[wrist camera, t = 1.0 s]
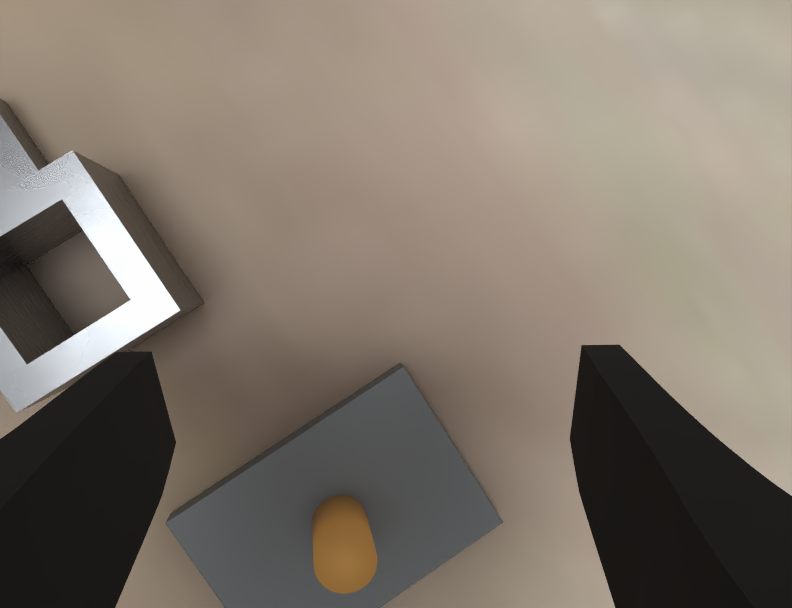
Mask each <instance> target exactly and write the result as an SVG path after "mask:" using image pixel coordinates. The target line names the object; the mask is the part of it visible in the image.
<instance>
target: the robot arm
mask: <svg viewBox="0 0 792 608" xmlns="http://www.w3.org/2000/svg"><path fill="white" fill-rule="evenodd" d="M570 442H571V448H572V454H573V460H574V466H575V471H576V477H577V482H578V487H579V493H580V496H581V499H582V503H583V506H584V509H585V512H586V516H587V519H588V522H589V525H590V529H591V532H592V535H593V538H594V541H595V545H596V548H597V551H598V554H599V557H600V560H601V563H602V567H603V570H604V573H605V576H606V579H607V582H608V586H609V589H610V592H611V595H612V598H613V601H614V605H615V608H792V496H791V495H789V494H788V493H786V492H785V491H784V490H782V489H781V488H779V487H778V486H777V485H775V484H774V483H772V482H771V481H770V480H768V479H767V478H766V477H764V476H763V475H762V474H760V473H759V472H758V471H757V470H755V469H754V468H753V467H751V466H750V465H749V464H748V463H747V462H745V461H744V460H743V459H742V458H740V457H739V456H738V455H737V454H736V453H734V452H733V451H732V450H731V449H729V448H728V447H727V446H726V445H725V444H723V443H722V442H721V441H720V440H719V439H717V438H716V437H715V436H714V435H713V434H712V433H711V432H709V431H708V430H707V429H706V428H705V427H704V426H703V425H702V424H700V423H699V422H698V421H697V420H696V419H695V418H694V417H693V416H692V415H691V414H689V413H688V412H687V411H686V410H685V409H684V408H683V407H682V406H681V405H680V404H679V403H678V402H677V401H676V400H675V399H674V398H672V397H671V396H670V395H669V394H668V393H667V392H666V391H665V390H664V389H663V388H662V387H661V386H660V385H659V384H658V383H657V382H656V381H655V380H654V379H653V378H652V377H651V376H650V375H649V374H648V373H647V372H646V371H645V370H644V369H643V368H642V367H641V366H640V365H639V364H638V363H637V362H636V361H635V360H634V359H633V358H632V357H631V356H630V355H629V354H628V353H627V352H626V351H625V350H624V349H623V348H622V347H621V346H620V345H582V347H581V355H580V363H579V371H578V379H577V387H576V395H575V402H574V410H573V418H572V426H571V434H570ZM175 444H176V441H175V437H174V433H173V430H172V426H171V422H170V419H169V415H168V411H167V407H166V404H165V400H164V396H163V393H162V389H161V385H160V382H159V378H158V374H157V370H156V367H155V363H154V359H153V356H152V352H116V353H114V354H113V355H111V356H110V357H108V358H107V359H105V360H104V361H103V362H101V363H100V364H99V365H97V366H96V367H95V368H93V369H92V370H91V371H89V372H88V373H87V374H85V375H84V376H83V377H82V378H80V379H79V380H78V381H76V382H75V383H74V384H73V385H71V386H70V387H69V388H67V389H66V390H65V391H64V392H62V393H61V394H60V395H59V396H57V397H56V398H55V399H53V400H52V401H51V402H49V403H48V404H47V405H45V406H44V407H43V408H42V409H40V410H39V411H38V412H36V413H35V414H34V415H32V416H31V417H30V418H29V419H27V420H26V421H25V422H23V423H22V424H21V425H19V426H18V427H17V428H15V429H14V430H13V431H11V432H10V433H8V434H7V435H6V436H4V437H3V438H1V439H0V608H115V607H116V604H117V602H118V599H119V597H120V595H121V592H122V590H123V588H124V585H125V583H126V581H127V578H128V576H129V573H130V571H131V569H132V566H133V564H134V562H135V559H136V557H137V555H138V552H139V550H140V548H141V545H142V543H143V540H144V538H145V536H146V533H147V531H148V528H149V526H150V524H151V521H152V519H153V516H154V514H155V511H156V509H157V507H158V504H159V501H160V499H161V496H162V493H163V490H164V486H165V483H166V479H167V476H168V472H169V468H170V464H171V460H172V456H173V452H174V448H175Z"/></svg>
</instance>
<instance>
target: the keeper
mask: <svg viewBox="0 0 792 608" xmlns="http://www.w3.org/2000/svg"><path fill="white" fill-rule="evenodd" d="M501 523H503V521H502V519H501V518H500V516H499V515H498V513H497V511H496V510H495V508H494V507H493V505H492V504H491V502H490V500H489V499H488V497H487V496H486V494H485V493H484V491H483V489H482V488H481V486H480V485H479V483H478V482H477V480H476V479H475V477H474V475H473V474H472V472H471V471H470V469H469V468H468V466H467V464H466V463H465V461H464V460H463V458H462V457H461V455H460V454H459V452H458V450H457V449H456V447H455V446H454V444H453V443H452V441H451V439H450V438H449V436H448V435H447V433H446V432H445V430H444V428H443V427H442V425H441V424H440V422H439V421H438V419H437V418H436V416H435V414H434V413H433V411H432V410H431V408H430V407H429V405H428V403H427V402H426V400H425V399H424V397H423V396H422V394H421V393H420V391H419V389H418V388H417V386H416V385H415V383H414V382H413V380H412V378H411V377H410V375H409V374H408V372H407V371H406V369H405V368H404V366H403V365H402V364H401V363H399V364H398V365H396V366H395V367H393V368H392V369H390V370H389V371H387V372H386V373H384V374H383V375H381V376H380V377H378V378H377V379H375V380H374V381H372V382H370V383H369V384H367V385H366V386H364V387H363V388H361V389H360V390H358V391H357V392H355V393H354V394H352V395H351V396H349V397H348V398H346V399H345V400H343V401H342V402H340V403H338V404H337V405H335V406H334V407H332V408H331V409H329V410H328V411H326V412H325V413H323V414H322V415H320V416H319V417H317V418H316V419H314V420H313V421H311V422H310V423H308V424H306V425H305V426H303V427H302V428H300V429H299V430H297V431H296V432H294V433H293V434H291V435H290V436H288V437H287V438H285V439H284V440H282V441H281V442H279V443H278V444H276V445H274V446H273V447H271V448H270V449H268V450H267V451H265V452H264V453H262V454H261V455H259V456H258V457H256V458H255V459H253V460H252V461H250V462H249V463H247V464H246V465H244V466H242V467H241V468H239V469H238V470H236V471H235V472H233V473H232V474H230V475H229V476H227V477H226V478H224V479H223V480H221V481H220V482H218V483H217V484H215V485H213V486H212V487H210V488H209V489H207V490H206V491H204V492H203V493H201V494H200V495H198V496H197V497H195V498H194V499H192V500H191V501H189V502H188V503H186V504H185V505H183V506H181V507H180V508H178V509H177V510H175V511H174V512H172V513H171V514H170V516H169V518H168V520H167V521H166V525H167V526H168V528H169V529H170V530H171V532H172V533H173V535H174V536H175V537H176V539H177V540H178V542H179V543H180V545H181V546H182V547H183V549H184V550H185V552H186V553H187V554H188V556H189V557H190V559H191V560H192V562H193V563H194V564H195V566H196V567H197V569H198V570H199V571H200V573H201V574H202V576H203V577H204V579H205V580H206V581H207V583H208V584H209V586H210V587H211V588H212V590H213V591H214V593H215V594H216V596H217V597H218V598H219V600H220V601H221V603H222V604H223V606H224V607H225V608H380V607H381V606H382V605H384V604H385V603H387V602H388V601H390V600H391V599H393V598H394V597H395V596H397V595H398V594H400V593H401V592H403V591H404V590H406V589H407V588H408V587H410V586H411V585H413V584H414V583H416V582H417V581H419V580H420V579H422V578H423V577H424V576H426V575H427V574H429V573H430V572H432V571H433V570H435V569H436V568H437V567H439V566H440V565H442V564H443V563H445V562H446V561H448V560H449V559H451V558H452V557H453V556H455V555H456V554H458V553H459V552H461V551H462V550H464V549H465V548H466V547H468V546H469V545H471V544H472V543H474V542H475V541H477V540H478V539H480V538H481V537H482V536H484V535H485V534H487V533H488V532H490V531H491V530H493V529H494V528H495V527H497V526H498V525H500V524H501Z"/></svg>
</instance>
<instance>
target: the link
mask: <svg viewBox="0 0 792 608" xmlns="http://www.w3.org/2000/svg"><path fill="white" fill-rule="evenodd" d="M82 230H83V231H84V232H85V234H86V235H87V236H88V238H89V239H90V241H91V242H92V244H93V245H94V247H95V248H96V250H97V251H98V253H99V254H100V256H101V257H102V258H103V260H104V261H105V263H106V264H107V266H108V267H109V269H110V270H111V272H112V273H113V275H114V276H115V278H116V279H117V280H118V282H119V283H120V285H121V286H122V288H123V289H124V291H125V292H126V294H127V295H128V297H129V298H130V299H131V300H130V301H128V302H127V303H125V304H124V305H122V306H120V307H119V308H117V309H116V310H114V311H112V312H111V313H109V314H108V315H106V316H104V317H103V318H101V319H100V320H98V321H96V322H95V323H93V324H91V325H90V326H88V327H87V328H85V329H83V330H82V331H80V332H79V333H77V334H75V335H73V333H72V332H71V330H70V329H69V327H68V326H67V324H66V323H65V322H64V320H63V319H62V317H61V316H60V314H59V313H58V312H57V310H56V309H55V307H54V306H53V304H52V303H51V302H50V300H49V299H48V297H47V296H46V294H45V293H44V292H43V290H42V289H41V287H40V286H39V284H38V283H37V281H36V280H35V279H34V277H33V276H32V274H31V273H30V271H29V270H28V269H27V267H26V266H25V265H26V264H28V263H29V262H31V261H33V260H34V259H36V258H38V257H39V256H41V255H42V254H44V253H46V252H47V251H49V250H51V249H52V248H54V247H56V246H57V245H59V244H61V243H62V242H64V241H65V240H67V239H69V238H70V237H72V236H74V235H75V234H77V233H79V232H80V231H82ZM203 303H204V302H203V300H202V299H201V297H200V296H199V294H198V293H197V291H196V290H195V288H194V287H193V285H192V284H191V282H190V281H189V279H188V278H187V276H186V275H185V273H184V272H183V270H182V269H181V267H180V266H179V264H178V263H177V261H176V260H175V258H174V257H173V256H172V254H171V253H170V251H169V250H168V248H167V247H166V245H165V244H164V242H163V241H162V239H161V238H160V236H159V235H158V233H157V232H156V230H155V229H154V227H153V226H152V224H151V223H150V221H149V220H148V218H147V217H146V215H145V214H144V212H143V211H142V209H141V208H140V206H139V205H138V203H137V202H136V200H135V199H134V197H133V196H132V194H131V193H130V191H129V190H128V188H127V187H126V185H125V184H124V182H123V181H122V179H121V178H120V176H119V175H118V174H117V173H115V172H113V171H111V170H109V169H107V168H105V167H103V166H101V165H99V164H98V163H96V162H94V161H92V160H90V159H88V158H86V157H84V156H82V155H81V154H79V153H77V152H75V151H73V150H72V151H70V152H69V153H67V154H65V155H64V156H62V157H60V158H59V159H57V160H55V161H53V162H52V163H50V164H48V163H47V162H46V160H45V159H44V157H43V156H42V154H41V153H40V151H39V150H38V148H37V147H36V145H35V144H34V142H33V141H32V139H31V138H30V137H29V135H28V134H27V132H26V131H25V129H24V128H23V126H22V125H21V123H20V122H19V120H18V119H17V117H16V116H15V114H14V113H13V112H12V110H11V109H10V107H9V106H8V104H7V103H6V102H5V101H3V100H2V99H0V391H1V392H2V393H3V395H4V396H5V397H6V399H7V400H8V402H9V403H10V404H11V406H12V407H13V409H14V410H15V411H16V413H18V412H20V411H22V410H24V409H26V408H28V407H30V406H32V405H34V404H36V403H38V402H40V401H42V400H44V399H46V398H48V397H50V396H52V395H54V394H56V393H58V392H60V391H62V390H64V389H66V388H68V387H70V386H71V385H73V384H74V383H75V382H76V381H78V380H79V379H80V378H82V377H83V376H84V375H85V374H87V373H88V372H89V371H91V370H92V369H93V368H95V367H96V366H97V365H99V364H100V363H101V362H103V361H104V360H105V359H107V358H108V357H110V356H111V355H113V354H114V353H116V352H126V351H128V350H130V349H131V348H133V347H134V346H136V345H138V344H139V343H141V342H142V341H144V340H146V339H147V338H149V337H150V336H152V335H154V334H155V333H157V332H158V331H160V330H161V329H163V328H165V327H166V326H168V325H169V324H171V323H173V322H174V321H176V320H177V319H179V318H181V317H182V316H184V315H185V314H187V313H188V312H190V311H192V310H193V309H195V308H196V307H198V306H200V305H201V304H203Z"/></svg>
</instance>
